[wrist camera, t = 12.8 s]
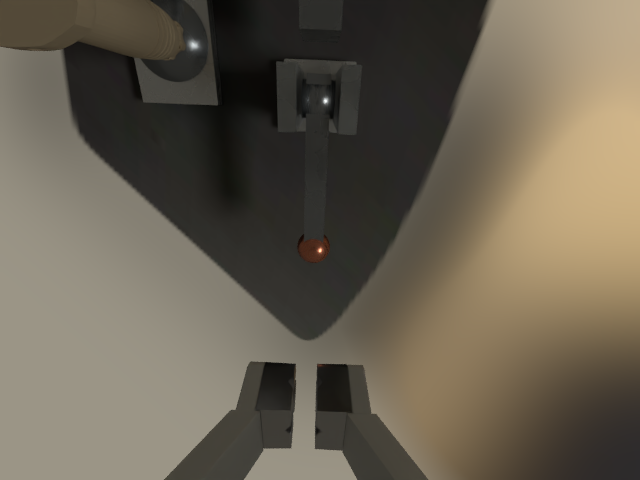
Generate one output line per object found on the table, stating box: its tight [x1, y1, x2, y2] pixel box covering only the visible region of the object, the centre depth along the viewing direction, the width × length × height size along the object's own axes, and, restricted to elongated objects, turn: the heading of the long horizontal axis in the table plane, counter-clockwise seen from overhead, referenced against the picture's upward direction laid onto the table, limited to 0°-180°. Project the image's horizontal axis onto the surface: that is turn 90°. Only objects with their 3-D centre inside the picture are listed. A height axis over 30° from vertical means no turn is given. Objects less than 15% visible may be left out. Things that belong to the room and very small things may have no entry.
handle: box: [0, 0, 186, 60], centre depth 18 cm, size 5×6×15 cm
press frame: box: [134, 0, 362, 135], centre depth 22 cm, size 12×20×11 cm, turn 88°
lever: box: [297, 0, 343, 263], centre depth 21 cm, size 22×3×4 cm, turn 178°
